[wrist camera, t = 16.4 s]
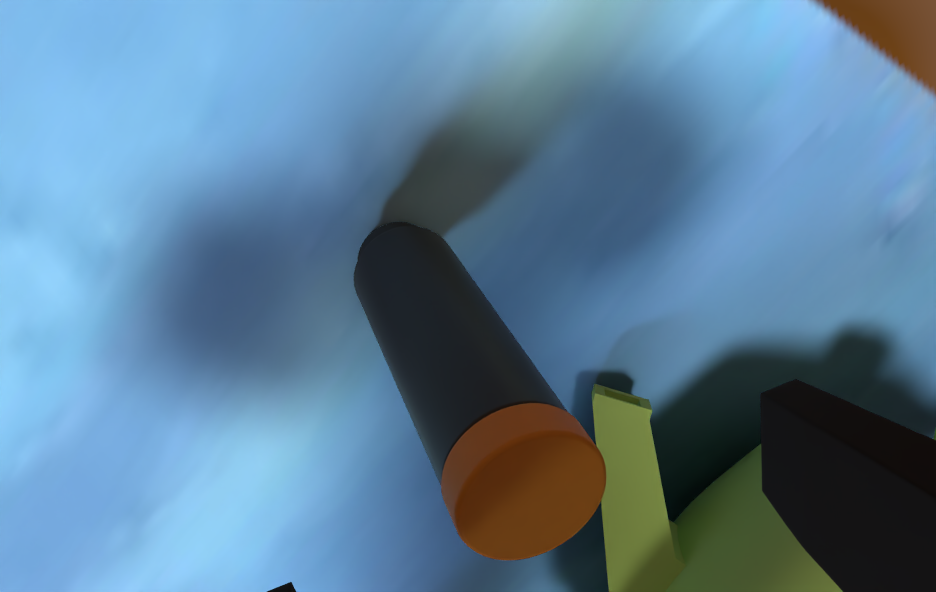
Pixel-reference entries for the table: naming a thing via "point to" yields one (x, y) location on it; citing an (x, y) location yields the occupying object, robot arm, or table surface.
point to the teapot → (690, 519)
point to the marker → (476, 400)
